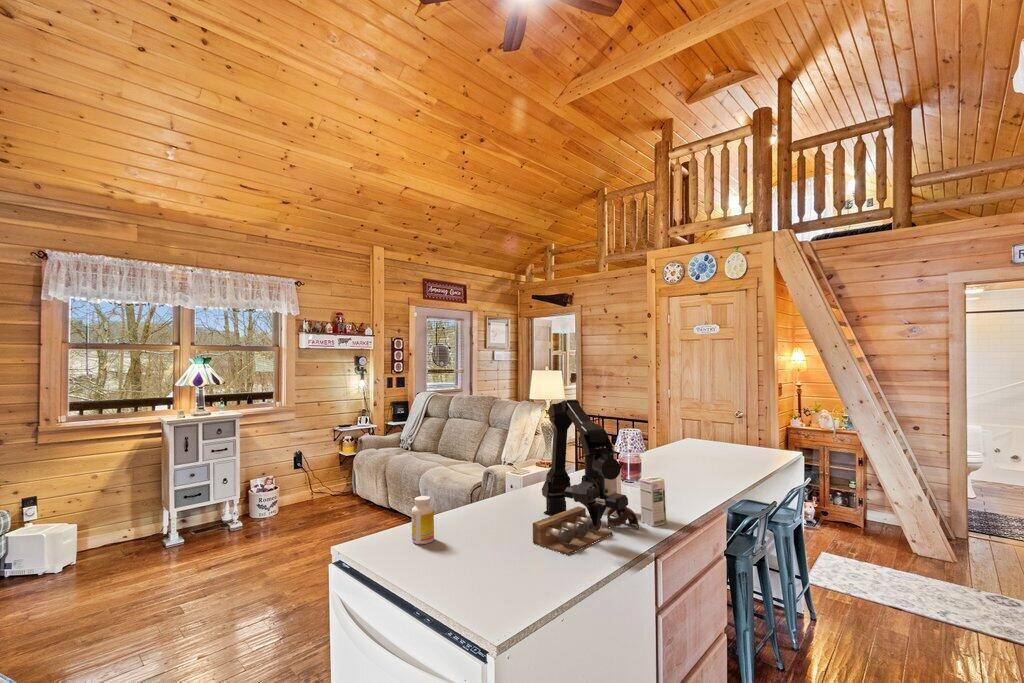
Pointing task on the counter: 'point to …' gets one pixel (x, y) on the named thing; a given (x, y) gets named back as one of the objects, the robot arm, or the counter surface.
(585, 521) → the knob far
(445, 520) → the counter surface
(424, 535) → the supplement bottle
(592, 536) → the panel
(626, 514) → the pottery mug
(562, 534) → the knob near
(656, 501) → the syrup box
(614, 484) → the soap dispenser
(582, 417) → the robot arm
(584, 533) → the knob middle
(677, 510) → the counter surface
